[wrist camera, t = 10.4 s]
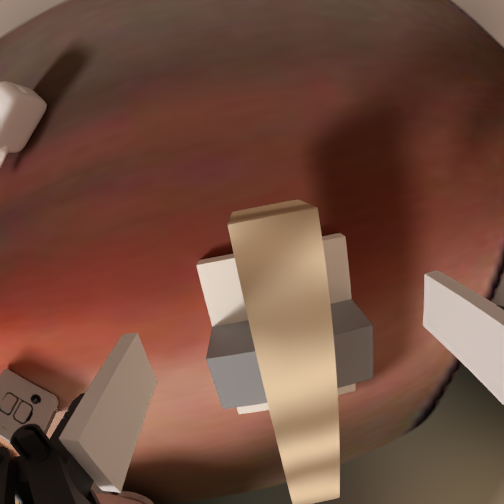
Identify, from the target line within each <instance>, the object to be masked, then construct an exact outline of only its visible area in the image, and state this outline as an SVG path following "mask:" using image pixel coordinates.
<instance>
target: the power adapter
mask: <svg viewBox="0 0 504 504" xmlns="http://www.w3.org/2000/svg"><path fill="white" fill-rule="evenodd" d="M46 107H47V104H46V102H45V101H44V100H43V99H42V98H41V97H40V96H39V95H38V94H37V93H36V92H34V91H33V90H32V89H29V88H27V87H24V86H21V85H18V84H15V83H11V82H7V81H3V82H0V169H1V167H2V164H3V162H4V160H5V158H6V156H7V154H8V152H20V151H21V150H22V149H23V148H24V147H25V145H26V144H27V142H28V140H29V139H30V137H31V135H32V133H33V132H34V130H35V128H36V127H37V125H38V123H39V122H40V120H41V118H42V117H43V115H44V113H45V111H46Z"/></svg>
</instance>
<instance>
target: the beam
mask: <svg viewBox="0 0 504 504" xmlns="http://www.w3.org/2000/svg"><path fill="white" fill-rule="evenodd" d="M228 229H229V234H230V239H231V243H232V248H233V253H234V257H235V262H236V267H237V271H238V276H239V280H240V285H241V289H242V294H243V299H244V303H245V307H246V312H247V316H248V321H249V325H250V330H251V334H252V338H253V343H254V347H255V352H256V356H257V360H258V365H259V369H260V373H261V377H262V382H263V386H264V390H265V394H266V398H267V403H268V407H269V411H270V415H271V419H272V423H273V428H274V432H275V436H276V440H277V444H278V448H279V452H280V456H281V460H282V464H283V468H284V472H285V476H286V480H287V484H288V488H289V491H290V495H291V499H292V503H293V504H312V503H317V502H322V501H326V500H331V499H335V498H339V496H340V495H339V494H340V446H339V412H338V392H337V375H336V361H335V348H334V336H333V325H332V315H331V305H330V296H329V287H328V279H327V271H326V263H325V255H324V248H323V241H322V234H321V227H320V220H319V214H318V208H317V207H315V206H312V205H310V204H308V203H305V202H303V201H301V200H299V199H298V200H292V201H287V202H281V203H276V204H271V205H265V206H260V207H255V208H250V209H245V210H240V211H235V212H232V214H231V217H230V220H229V222H228Z"/></svg>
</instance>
